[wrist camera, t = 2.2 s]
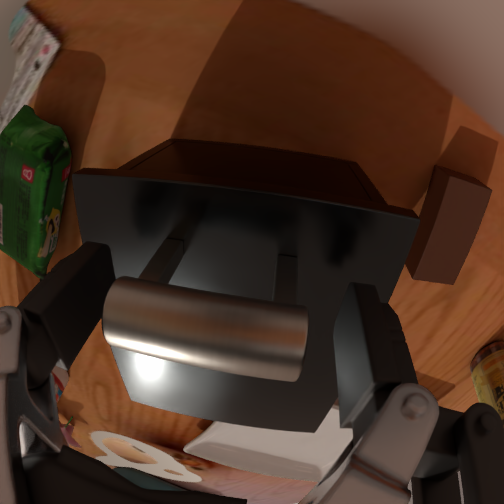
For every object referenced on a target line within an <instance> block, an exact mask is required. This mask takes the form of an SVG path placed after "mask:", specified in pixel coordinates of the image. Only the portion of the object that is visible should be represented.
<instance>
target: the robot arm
mask: <svg viewBox="0 0 504 504" xmlns="http://www.w3.org/2000/svg"><path fill="white" fill-rule="evenodd" d="M115 280H116V277H115V272H114V267H113V261H112V255H111V250H110V247H109V246H108V245H107V244H103V243H97V242H91V241H86V242H85V243H84V244H83V245H82V246H80V247H79V248H78V249H77V250H76V251H75V252H74V253H73V254H71V255H69V256H67V257H66V258H64V259H62V260H60V261H59V262H58V263H57V264H56V265H55V266H54V267H53V268H52V269H51V272H49V273H48V274H47V275H46V276H45V277H44V280H41V281H40V282H39V283H38V284H37V285H36V286H35V287H34V288H33V290H32V291H31V292H30V293H29V294H28V295H27V296H26V297H25V298H24V300H23V301H22V302H21V303H20V304H19V305H18V306H17V307H14V306H4V307H1V308H0V504H247V499H240V498H233V497H226V496H220V495H215V494H209V493H204V492H199V491H172V490H153V489H145V488H141V487H139V486H138V485H136V484H134V483H133V482H131V481H129V480H128V479H126V478H125V477H123V476H122V475H120V474H119V473H117V472H116V471H114V470H113V469H111V468H110V467H108V466H107V465H105V464H104V463H102V462H101V461H99V460H96V459H94V458H92V457H89V456H87V455H85V454H82V453H80V452H78V451H76V450H74V449H72V448H70V447H69V446H68V443H67V441H66V439H65V437H64V435H63V433H62V431H61V428H60V423H59V416H58V409H57V401H56V391H55V380H54V375H53V373H52V370H53V368H54V367H55V366H58V367H60V368H62V369H65V370H67V371H68V370H69V368H70V366H71V365H72V363H73V361H74V360H75V358H76V357H77V355H78V353H79V352H80V350H81V348H82V347H83V345H84V344H85V342H86V340H87V339H88V337H89V336H90V334H91V333H92V331H93V330H94V328H95V326H96V325H97V323H98V322H99V320H100V319H101V317H102V310H103V305H104V301H105V298H106V295H107V292H108V290H109V288H110V286H111V285H112V283H113V282H114V281H115ZM333 339H334V350H335V361H336V373H337V387H338V402H339V421H340V428H350V429H352V431H353V439H352V440H351V441H350V442H349V443H348V445H347V446H346V448H345V449H344V450H343V452H342V453H341V454H340V456H339V457H338V458H337V460H336V461H335V462H334V463H333V465H332V466H331V467H330V468H329V470H328V471H327V472H326V473H325V475H324V476H323V477H322V478H321V480H320V481H319V482H318V483H317V484H316V485H315V487H314V488H313V489H312V490H311V491H310V492H309V493H308V494H307V495H306V496H305V497H304V498H303V499H302V500H301V501H300V502H299V503H298V504H408V503H409V501H410V498H411V491H410V490H408V488H407V487H408V484H409V481H410V479H411V482H412V495H413V504H461V496H460V487H459V480H458V473H457V472H458V471H460V473H461V481H462V488H463V495H464V504H504V426H503V423H502V420H501V417H500V415H499V414H498V412H497V411H496V410H495V409H494V408H493V407H492V406H490V405H489V404H486V403H475V404H473V405H472V406H470V407H469V408H468V409H467V410H466V411H465V412H464V413H463V412H459V411H455V410H451V409H447V408H443V407H440V406H438V403H437V400H436V398H435V397H434V395H433V394H432V393H431V392H430V391H429V390H428V389H426V388H425V387H423V386H421V385H419V384H418V381H417V377H416V373H415V370H414V366H413V363H412V359H411V356H410V352H409V349H408V346H407V343H405V340H406V339H405V336H404V333H403V331H402V327H401V324H400V321H399V318H398V315H397V314H396V313H395V312H394V310H393V309H392V308H391V307H390V305H389V304H388V303H381V302H380V298H379V295H378V292H377V289H376V287H375V285H370V284H362V283H355V282H350V283H349V285H348V287H347V290H346V293H345V296H344V299H343V301H342V304H341V307H340V310H339V312H338V315H337V318H336V321H335V325H334V333H333Z"/></svg>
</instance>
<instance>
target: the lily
mask: <svg viewBox="0 0 504 504" xmlns="http://www.w3.org/2000/svg"><path fill="white" fill-rule="evenodd" d="M72 418H73V416H72V417H71V419H72ZM71 419H70V420H69V422H68V423H67V424H61V422H60V421H59V423H60V428H61V431H62V433H63V435H64V437H65V439H66V441H67V443H68V446H69V444H70V445H72V446H75V447H79V448H81V446H80V445H79V444H78V443H77V442H76V441H75V440H74V439H73V438H72V437H71V435H72V432H73V429H74V427H73V426H72V425H68V424H69V423H70V421H71Z"/></svg>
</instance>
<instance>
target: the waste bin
mask: <svg viewBox="0 0 504 504" xmlns="http://www.w3.org/2000/svg"><path fill="white" fill-rule="evenodd" d="M117 169H121V170H138V171H152V172H165V173H177V174H188V175H198V176H208V177H217V178H226V179H235V180H243V181H251V182H258V183H266V184H273V185H280V186H286V187H293V188H299V189H306V190H312V191H318V192H324V193H330V194H335V195H341V196H346V197H352V198H357V199H362V200H367V201H372V202H377V203H382V204H387V203H386V201H385V200H384V199H383V197H382V196H381V194H380V193H379V192H378V190H377V189H376V187H375V186H374V185H373V183H372V182H371V181H370V179H369V178H368V177H367V175H366V174H365V173H364V171H363V170H362V169H361V167H360V166H359V165H358V164H357V163H356V162H352V161H347V160H342V159H337V158H332V157H326V156H320V155H315V154H309V153H303V152H296V151H290V150H283V149H276V148H268V147H261V146H252V145H244V144H234V143H224V142H213V141H200V140H186V139H168V140H166V141H165V142H163V143H161V144H159V145H157V146H155V147H154V148H152V149H150V150H148V151H146V152H145V153H143V154H141V155H139V156H138V157H136V158H134V159H132V160H131V161H129V162H127V163H126V164H124V165H122V166H121V167H119V168H117ZM387 205H388V204H387Z"/></svg>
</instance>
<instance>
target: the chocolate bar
mask: <svg viewBox="0 0 504 504" xmlns="http://www.w3.org/2000/svg"><path fill="white" fill-rule="evenodd" d="M491 193H492V190H491V189H490V188H489V187H487V186H486V185H484V184H483V183H482V182H480V181H479V180H477V179H476V178H473V177H471V176H468V175H465V174H462V173H459V172H456V171H453V170H450V169H447V168H444V167H441V166H437V165H435V167H434V170H433V174H432V178H431V181H430V185H429V188H428V191H427V195H426V198H425V201H424V204H423V207H422V211H421V214H420V217H419V218H420V224H419V227H418V230H417V233H416V235H415V238H414V241H413V244H412V246H411V249H410V252H409V254H408V257H407V259H406V262H405V265H406V267H407V269H408V271H409V273H410V275H411V277H412V279H415V280H422V281H429V282H436V283H443V284H450V285H453V284H454V283H455V280H456V278H457V276H458V274H459V272H460V270H461V268H462V266H463V264H464V262H465V259H466V257H467V255H468V253H469V250H470V248H471V246H472V243H473V241H474V239H475V236H476V234H477V231H478V229H479V226H480V224H481V221H482V218H483V216H484V213H485V210H486V207H487V204H488V202H489V199H490V196H491Z"/></svg>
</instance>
